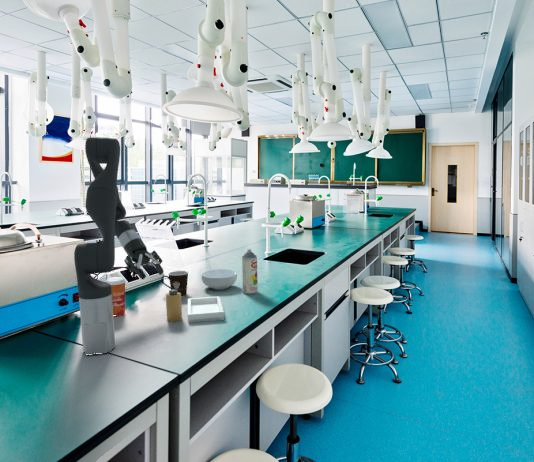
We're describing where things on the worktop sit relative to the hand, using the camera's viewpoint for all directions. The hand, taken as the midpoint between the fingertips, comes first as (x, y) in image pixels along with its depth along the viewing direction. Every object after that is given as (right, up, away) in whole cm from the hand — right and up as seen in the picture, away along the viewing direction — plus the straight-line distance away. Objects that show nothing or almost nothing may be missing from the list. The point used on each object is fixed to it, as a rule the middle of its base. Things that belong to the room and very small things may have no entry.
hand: (153, 275), depth 153 cm
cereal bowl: (+21, -10, +39) cm, 45 cm away
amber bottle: (+9, -16, -4) cm, 19 cm away
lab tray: (+19, -15, +3) cm, 25 cm away
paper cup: (-15, -15, +3) cm, 21 cm away
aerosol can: (+36, -11, +30) cm, 48 cm away
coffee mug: (+3, -12, +28) cm, 31 cm away
